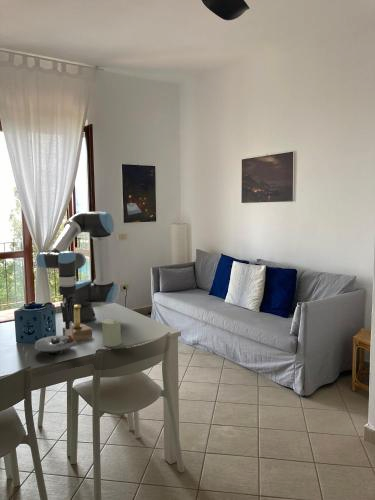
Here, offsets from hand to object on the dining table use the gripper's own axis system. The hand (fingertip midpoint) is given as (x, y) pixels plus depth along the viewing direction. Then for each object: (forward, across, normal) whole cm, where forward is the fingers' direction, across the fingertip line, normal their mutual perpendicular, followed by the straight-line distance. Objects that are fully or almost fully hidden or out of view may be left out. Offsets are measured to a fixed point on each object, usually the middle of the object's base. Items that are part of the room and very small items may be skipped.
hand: (68, 335), depth 189 cm
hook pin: (+8, +21, +3) cm, 23 cm away
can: (+9, +14, -17) cm, 23 cm away
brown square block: (+8, +21, +3) cm, 23 cm away
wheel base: (+9, +1, +7) cm, 11 cm away
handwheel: (+5, +1, +7) cm, 9 cm away
